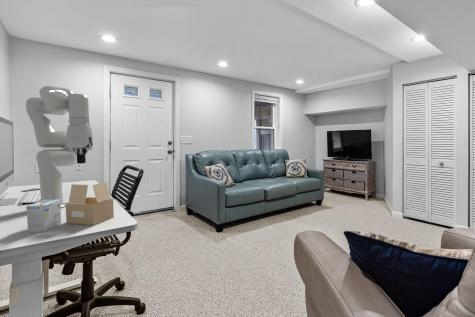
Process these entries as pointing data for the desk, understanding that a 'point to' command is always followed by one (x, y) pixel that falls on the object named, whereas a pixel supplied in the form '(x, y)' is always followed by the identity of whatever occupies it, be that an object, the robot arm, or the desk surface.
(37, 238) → the desk surface
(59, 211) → the light bulb box
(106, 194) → the flap
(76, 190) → the flap
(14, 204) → the desk surface
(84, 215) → the carton
